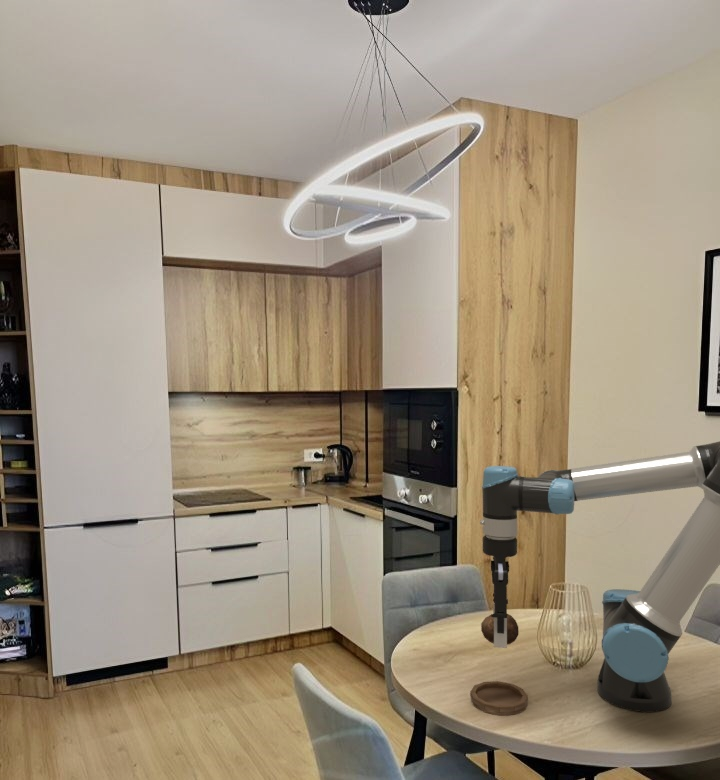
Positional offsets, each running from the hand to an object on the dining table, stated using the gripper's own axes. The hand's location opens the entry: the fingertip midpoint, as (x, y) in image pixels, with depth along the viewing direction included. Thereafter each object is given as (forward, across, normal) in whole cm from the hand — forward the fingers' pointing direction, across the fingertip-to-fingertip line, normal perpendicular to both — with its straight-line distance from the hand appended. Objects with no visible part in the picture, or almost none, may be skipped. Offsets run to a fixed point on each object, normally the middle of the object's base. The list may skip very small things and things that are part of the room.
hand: (499, 639), depth 133 cm
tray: (+14, 0, 0) cm, 14 cm away
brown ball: (0, 0, 0) cm, 1 cm away
